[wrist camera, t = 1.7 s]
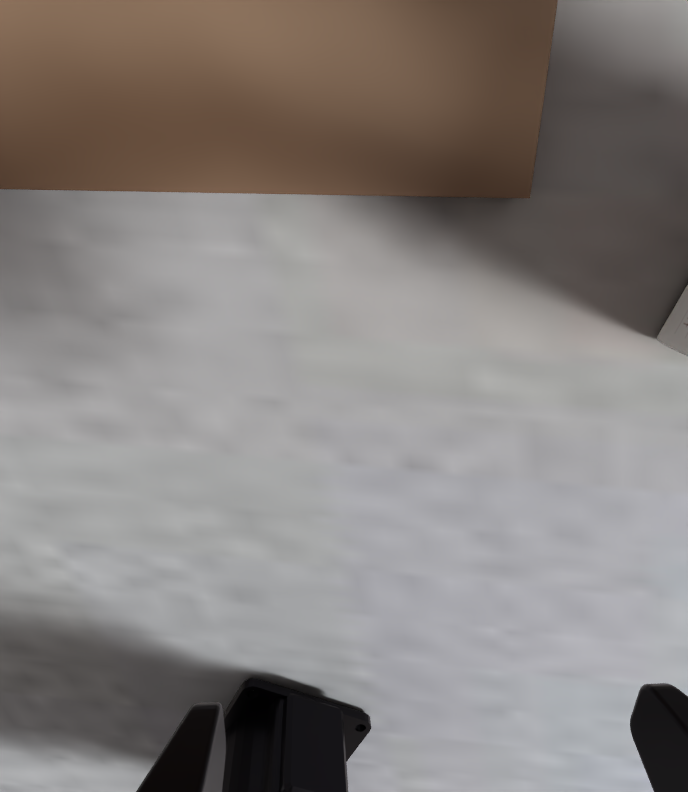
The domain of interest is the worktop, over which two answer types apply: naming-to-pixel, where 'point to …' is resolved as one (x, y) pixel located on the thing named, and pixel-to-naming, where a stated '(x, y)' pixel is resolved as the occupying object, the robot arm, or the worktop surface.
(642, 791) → the worktop surface
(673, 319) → the supplement box
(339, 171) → the valve board
